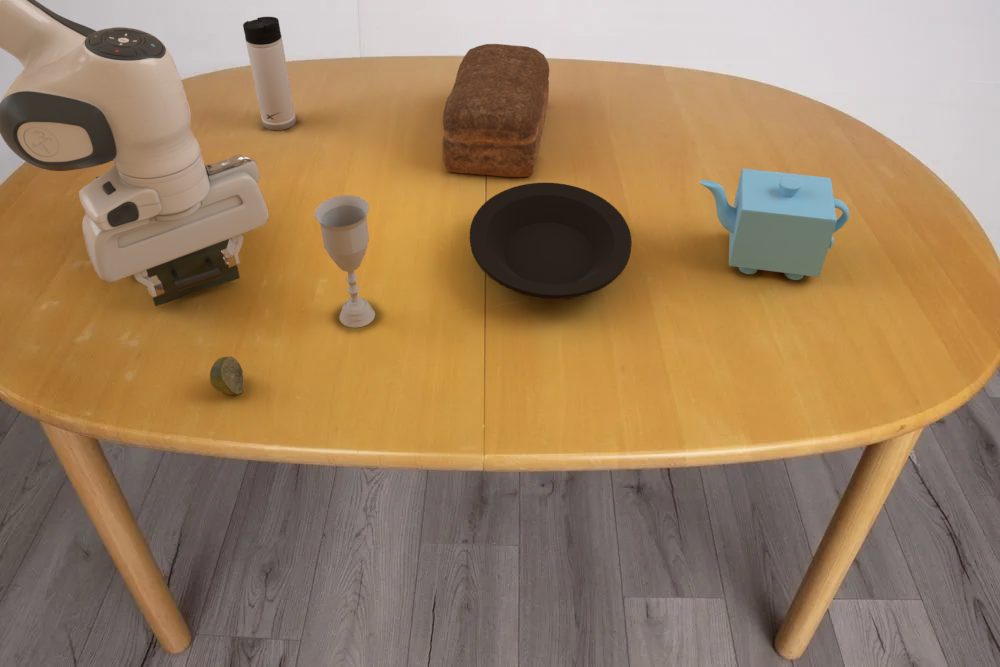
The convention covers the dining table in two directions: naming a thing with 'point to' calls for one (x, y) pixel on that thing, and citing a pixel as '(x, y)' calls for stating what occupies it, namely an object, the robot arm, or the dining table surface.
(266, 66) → the travel mug
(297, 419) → the dining table surface
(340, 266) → the chalice
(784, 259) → the teapot
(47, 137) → the robot arm
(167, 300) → the drawer
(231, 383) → the lime
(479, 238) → the plate
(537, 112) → the bread
